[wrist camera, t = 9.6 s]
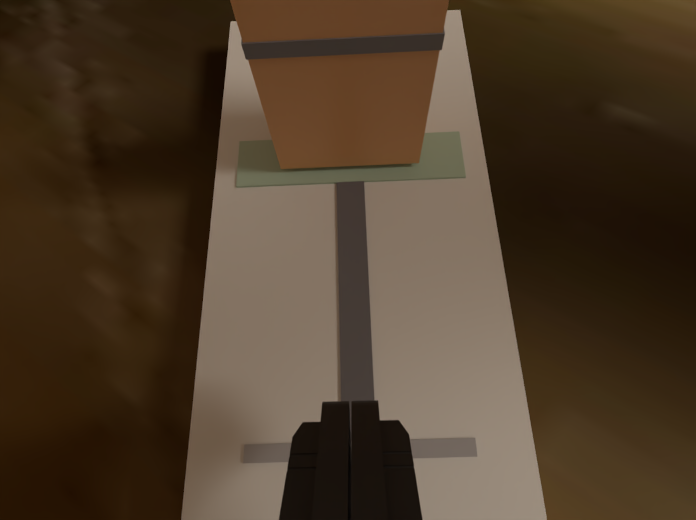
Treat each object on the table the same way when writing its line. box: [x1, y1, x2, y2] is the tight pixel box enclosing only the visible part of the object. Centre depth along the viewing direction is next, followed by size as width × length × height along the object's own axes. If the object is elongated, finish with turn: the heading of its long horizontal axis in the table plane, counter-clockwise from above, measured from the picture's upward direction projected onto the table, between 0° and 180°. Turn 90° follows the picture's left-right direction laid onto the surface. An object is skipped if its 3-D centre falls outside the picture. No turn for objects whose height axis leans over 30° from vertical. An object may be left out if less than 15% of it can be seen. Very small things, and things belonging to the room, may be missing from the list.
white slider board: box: [181, 10, 547, 520], centre depth 19 cm, size 30×12×2 cm, turn 2°
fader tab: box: [230, 0, 449, 169], centre depth 17 cm, size 3×6×8 cm, turn 91°
